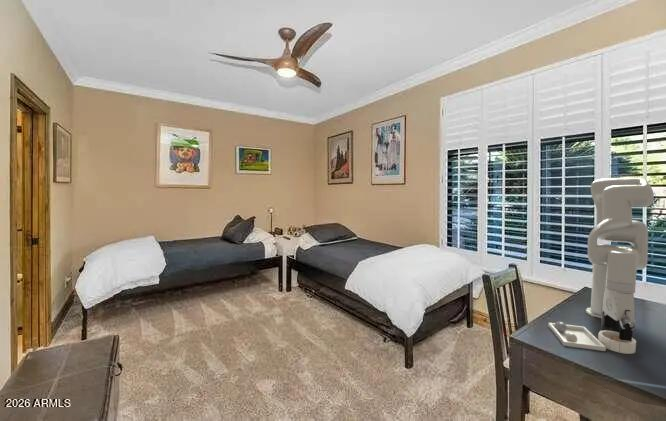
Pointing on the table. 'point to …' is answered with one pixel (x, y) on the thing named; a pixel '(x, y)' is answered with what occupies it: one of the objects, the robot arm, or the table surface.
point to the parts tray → (578, 337)
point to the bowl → (616, 342)
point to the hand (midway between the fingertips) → (617, 333)
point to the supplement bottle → (608, 327)
